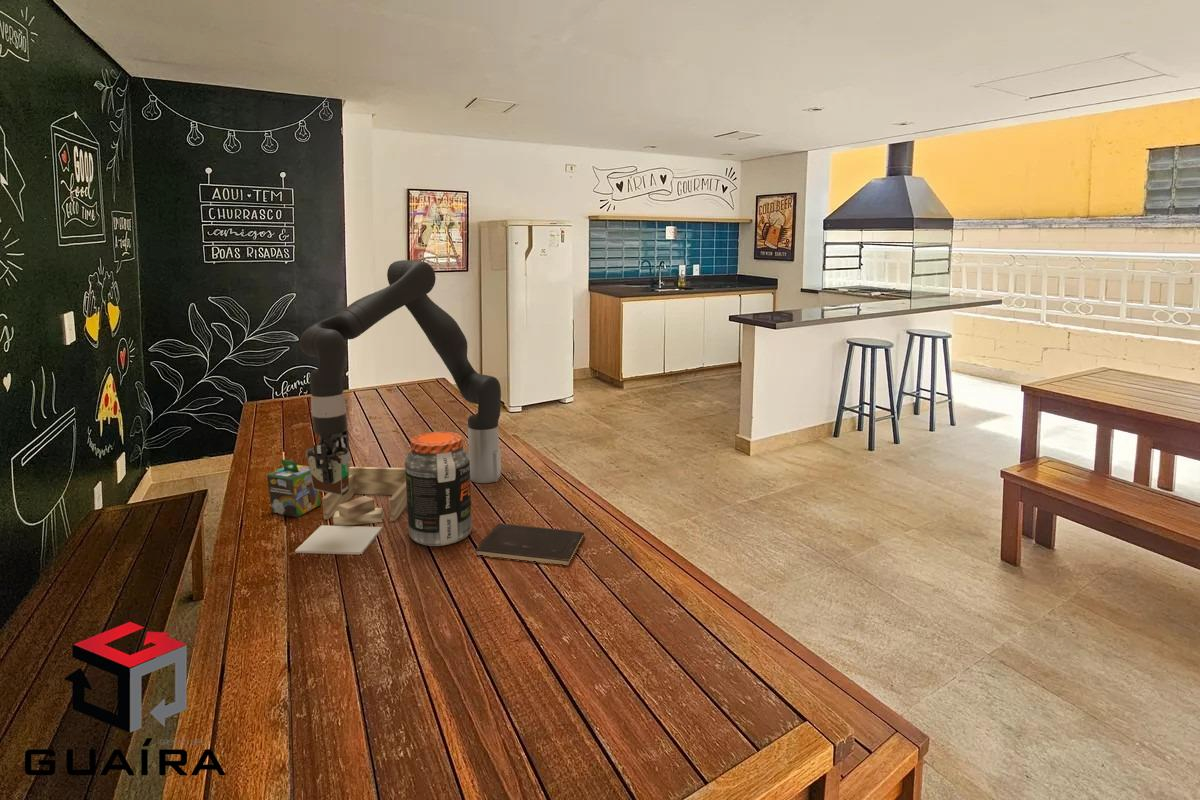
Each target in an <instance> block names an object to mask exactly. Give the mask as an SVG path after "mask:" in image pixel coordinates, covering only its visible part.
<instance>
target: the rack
mask: <svg viewBox="0 0 1200 800" xmlns="http://www.w3.org/2000/svg"><path fill="white" fill-rule="evenodd" d="M355 495H377V496H378V495H379V496H380V495H381V496H382V495H386V496H390V495H391V497H390V498H389V499H388V503H389V505H388V506H389V508H388V509H389V517H390V519H389V521H390V522H395V521H396V520H397V519H398V518H399V517H400V515H401V514H402V513H403V512H404V511H405V509H407V492H406V474H405V467H378V466H377V467H376V466H375V467H374V466H371V467H369V466H349V490H348V492H347V493H346V494H344V495H343V496H340V495H336V494H332V493H327V492H326V494H325V495H324V496H322V498H321V505H322V513H323V520H329V519H330V518H332V517H333V516H334V513H335V511H339V507H338V505H340V504H343V503H346V502H349V501H350V499H351V498H352V497H353V496H355Z"/></svg>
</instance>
